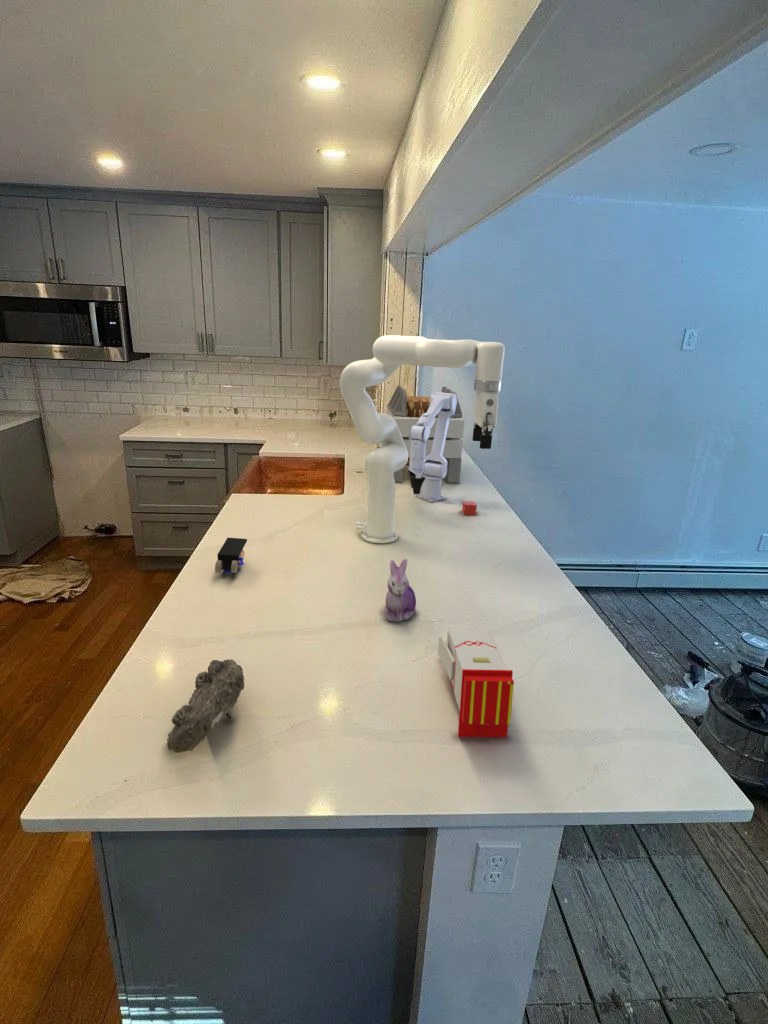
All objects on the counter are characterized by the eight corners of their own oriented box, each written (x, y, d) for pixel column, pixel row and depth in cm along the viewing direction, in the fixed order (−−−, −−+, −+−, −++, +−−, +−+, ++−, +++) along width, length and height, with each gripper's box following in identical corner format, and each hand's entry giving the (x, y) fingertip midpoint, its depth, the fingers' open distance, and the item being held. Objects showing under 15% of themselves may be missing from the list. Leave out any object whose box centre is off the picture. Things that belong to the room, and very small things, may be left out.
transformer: (382, 463, 289) (386, 382, 275) (445, 464, 293) (451, 384, 279) (390, 482, 257) (394, 392, 243) (460, 483, 261) (468, 394, 247)
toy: (488, 613, 130) (523, 677, 101) (484, 667, 133) (517, 744, 104) (435, 612, 130) (455, 676, 101) (432, 666, 133) (451, 743, 103)
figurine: (392, 627, 141) (395, 572, 136) (374, 608, 149) (376, 556, 144) (425, 619, 145) (429, 566, 140) (405, 601, 154) (408, 550, 149)
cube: (475, 515, 222) (476, 505, 220) (464, 514, 221) (465, 504, 220) (473, 511, 226) (474, 501, 224) (462, 511, 226) (462, 501, 224)
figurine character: (238, 584, 162) (249, 557, 175) (236, 562, 158) (247, 536, 172) (215, 584, 161) (227, 556, 175) (212, 561, 158) (225, 535, 171)
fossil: (192, 660, 117) (244, 628, 112) (224, 691, 120) (276, 661, 115) (142, 746, 98) (202, 712, 93) (182, 779, 101) (242, 748, 96)
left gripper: (508, 391, 156) (501, 452, 162) (492, 383, 172) (486, 438, 178) (481, 390, 155) (475, 451, 161) (468, 382, 171) (463, 438, 177)
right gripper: (430, 462, 210) (427, 497, 214) (425, 452, 223) (423, 485, 228) (411, 461, 209) (409, 496, 214) (407, 452, 223) (405, 485, 227)
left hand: (481, 444), depth 169 cm, fingers open, 9 cm apart
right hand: (415, 490), depth 221 cm, fingers open, 7 cm apart
